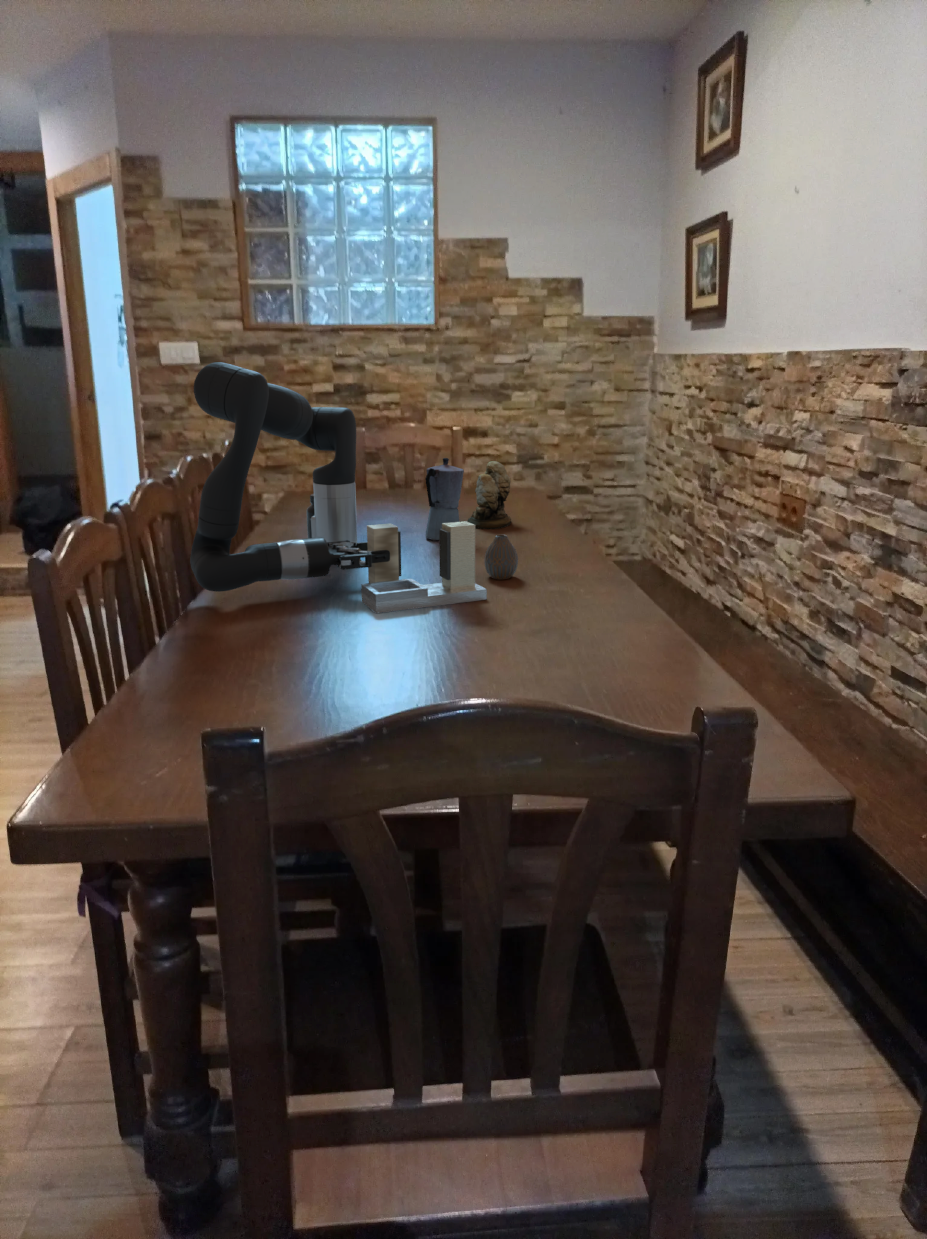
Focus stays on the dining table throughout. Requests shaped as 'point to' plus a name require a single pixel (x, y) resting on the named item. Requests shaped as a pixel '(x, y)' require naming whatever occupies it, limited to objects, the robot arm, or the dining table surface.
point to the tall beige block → (384, 540)
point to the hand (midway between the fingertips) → (381, 551)
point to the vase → (501, 558)
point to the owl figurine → (491, 498)
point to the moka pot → (442, 496)
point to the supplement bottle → (310, 515)
